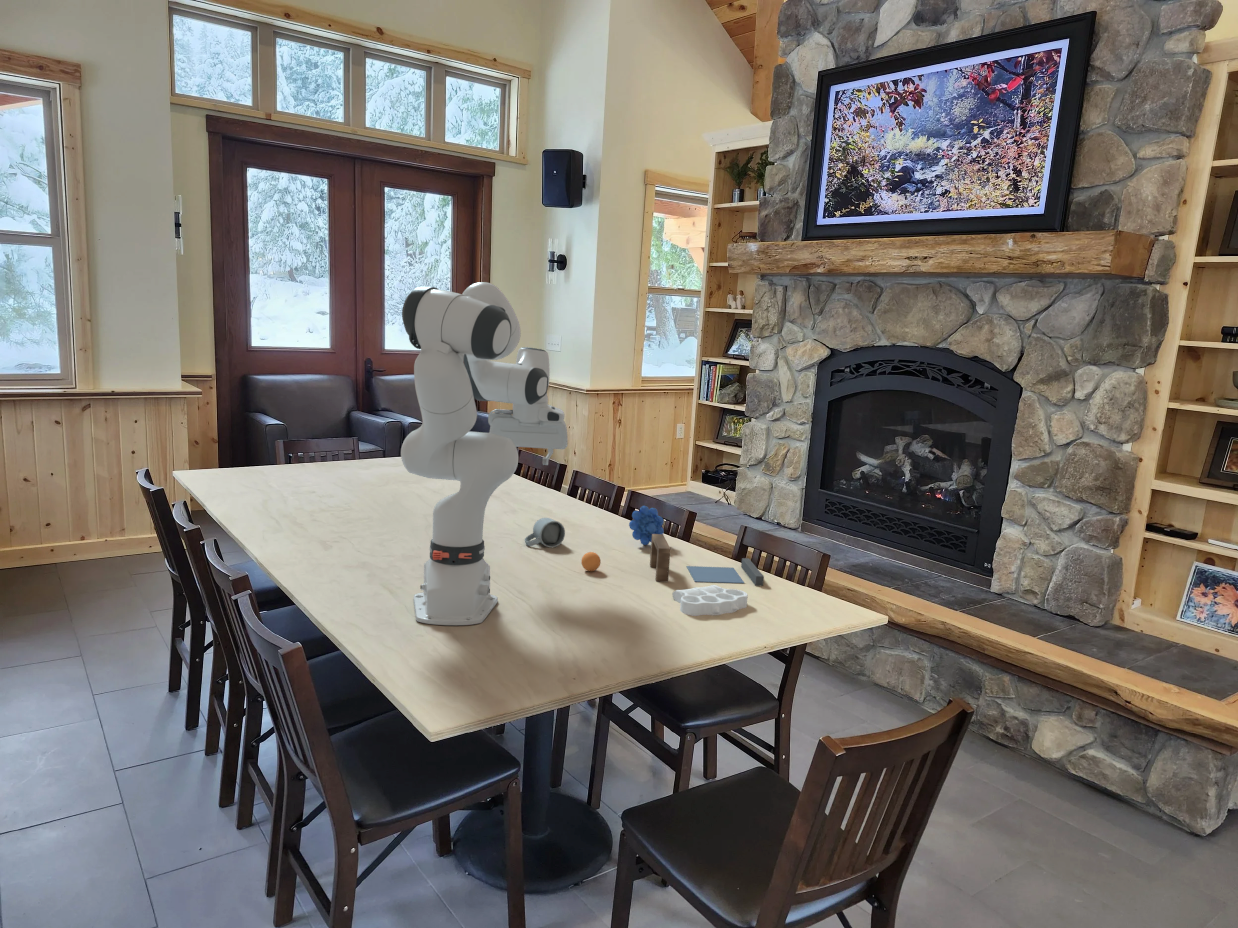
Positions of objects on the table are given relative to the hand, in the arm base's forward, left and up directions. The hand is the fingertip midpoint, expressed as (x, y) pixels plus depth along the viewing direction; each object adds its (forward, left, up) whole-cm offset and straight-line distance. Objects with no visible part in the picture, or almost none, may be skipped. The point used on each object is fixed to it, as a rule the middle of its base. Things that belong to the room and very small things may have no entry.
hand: (526, 463), depth 216 cm
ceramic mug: (+20, -5, -27) cm, 34 cm away
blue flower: (+22, -36, -27) cm, 50 cm away
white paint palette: (-28, -45, -28) cm, 60 cm away
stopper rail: (-4, -61, -27) cm, 67 cm away
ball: (-4, -18, -25) cm, 30 cm away
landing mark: (-4, -51, -27) cm, 58 cm away
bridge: (-4, -36, -27) cm, 45 cm away
